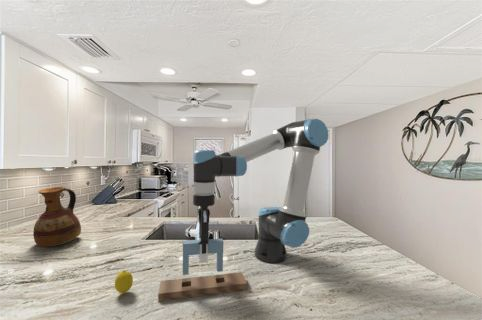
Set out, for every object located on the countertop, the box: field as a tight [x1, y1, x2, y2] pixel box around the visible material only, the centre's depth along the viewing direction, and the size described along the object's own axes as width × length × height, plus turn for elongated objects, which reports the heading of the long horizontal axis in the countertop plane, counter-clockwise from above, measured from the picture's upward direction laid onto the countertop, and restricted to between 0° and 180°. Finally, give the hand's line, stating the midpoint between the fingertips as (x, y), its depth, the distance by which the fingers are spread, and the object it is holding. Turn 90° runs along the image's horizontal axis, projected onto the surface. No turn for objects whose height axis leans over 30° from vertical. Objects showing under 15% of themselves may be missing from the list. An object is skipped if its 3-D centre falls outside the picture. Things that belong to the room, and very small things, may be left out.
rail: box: [157, 272, 248, 302], centre depth 84 cm, size 30×8×2 cm, turn 103°
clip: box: [182, 238, 224, 276], centre depth 84 cm, size 14×3×11 cm, turn 103°
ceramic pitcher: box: [32, 186, 82, 247], centre depth 126 cm, size 20×20×30 cm
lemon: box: [114, 270, 134, 295], centre depth 81 cm, size 6×6×8 cm
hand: (203, 259), depth 84 cm, fingers closed on clip, 3 cm apart
